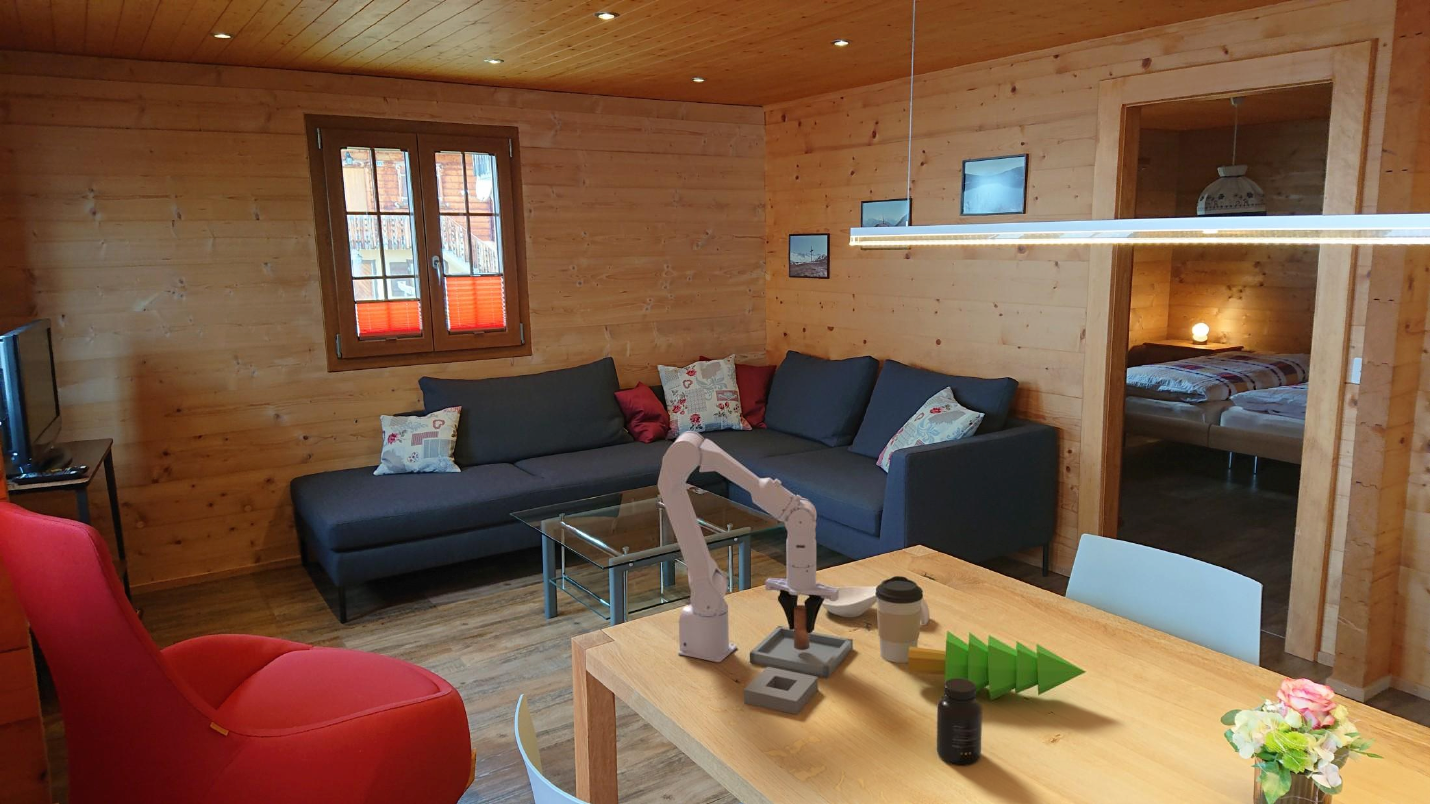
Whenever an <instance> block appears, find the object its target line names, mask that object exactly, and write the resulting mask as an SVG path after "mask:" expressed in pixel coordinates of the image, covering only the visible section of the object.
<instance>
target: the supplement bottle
mask: <svg viewBox="0 0 1430 804" xmlns="http://www.w3.org/2000/svg"><path fill="white" fill-rule="evenodd" d="M943 687H944V688H943V689H944V690H943V696H941V697H940V698H939V700H938V702H937V709H936V753H937V754H938V757H939V758H940V759H941V760H942V761H944V762H946V763H948V764H951V765H955V766H959V767H961V766H962V767H964V766H965V767H966V766H970V765H973V764H975V763H977V762H978V761H979V760H980V758H981V757H982V756H981V755H982V729H983V726H982V725H983V708H982V705H981V704H982V703H980V701H979V700H978V699H977V692H976V685H975V684H974V683H973V682H971V681H969V680H966V679H961V678H954V679H949V680H947V681H946V682H945V681H944V684H943Z"/></svg>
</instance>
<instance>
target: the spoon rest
mask: <svg viewBox="0 0 1430 804" xmlns="http://www.w3.org/2000/svg"><path fill="white" fill-rule="evenodd" d="M877 586H878V585H875V586H854V585H853V586H839V587H838V586H837V587H836V588H837V589H839V598H838V599H837V600H836V601H835V602H834V601H830V599H824V601H823V603H822V605H821V607H823V608H824V609H825V610H826V611H828V612H829V613H832V614H833V615H837V616H839V617H844V618H858V617H860V616H861V615H863V613H865V612H867V611H868V610H869V609H871V607H872V606H874V605H875V604H877V596H876V595H875V593H876V587H877ZM921 607H922V611H921V622H920V625H922V626H926V625H927V624H928V622H929V620H930V614H931V613H930V609H929V606H928V603H927V601H926V600H925V598H924V597H923V598H922V601H921Z"/></svg>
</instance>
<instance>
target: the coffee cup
mask: <svg viewBox="0 0 1430 804" xmlns="http://www.w3.org/2000/svg"><path fill="white" fill-rule="evenodd" d="M876 586H877V587H876V593H875V595H876V596H877V602H876V616H877V618H876V619H877V620H876V621H877V634H878V638H879V650H880V651H879V653H880V657H881V658H882V659H883V660H885V661H888V662H891V663H897V664H905V663H908V654H909V647H918V643H919V638H920V632H921V631H920V629H921V611H922V607H921V601H922V598H924V595H923V593H924V590H923V589H922V587H921V586H919V585H918V583H916V582H915V581H914V580H911V579H908V578H907V577H906V576H900V575H899V576H898V575H897V576H895V575H894V576H893V577H891V578H888V579H885V580H883V581H881V583H880V584H878V585H876Z"/></svg>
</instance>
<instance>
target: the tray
mask: <svg viewBox="0 0 1430 804" xmlns="http://www.w3.org/2000/svg"><path fill="white" fill-rule="evenodd" d="M853 644H854V640H853V638H849V637H848V638H847V637H841V636H837V635H836V636H835V635H831V634H825V633H819V632H814V631H812V632H811V633H809V648H808V649H806V650H798V649H795V648H794V629H793V630H790V629H789V626H788V627H787V626H784V625H783V626H782V625H777V627H775V629H774V630H772V632H770V633H769V634H768V635H767V636H766V637H765V638H763V640H761V642H760V643H759V642H758V644H757V645H756V646H755V647H754V648H753V649H752V650H751V651H750V652H749V663H752V664H756V665H761V666H766V667H772V668H777V669H781V670H786V671H791V672H796V673H801V674H806V675H810V676H815V677H818V678H824V679H828V678H830V677H831V675H832V674H833V672H835V670H837V668H838V666H840V665H841V664H842V662H843V661H844V660H845V659H846V657H847V656H848V655H849V654H850V653H851V651H853V649H854V645H853Z"/></svg>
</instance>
